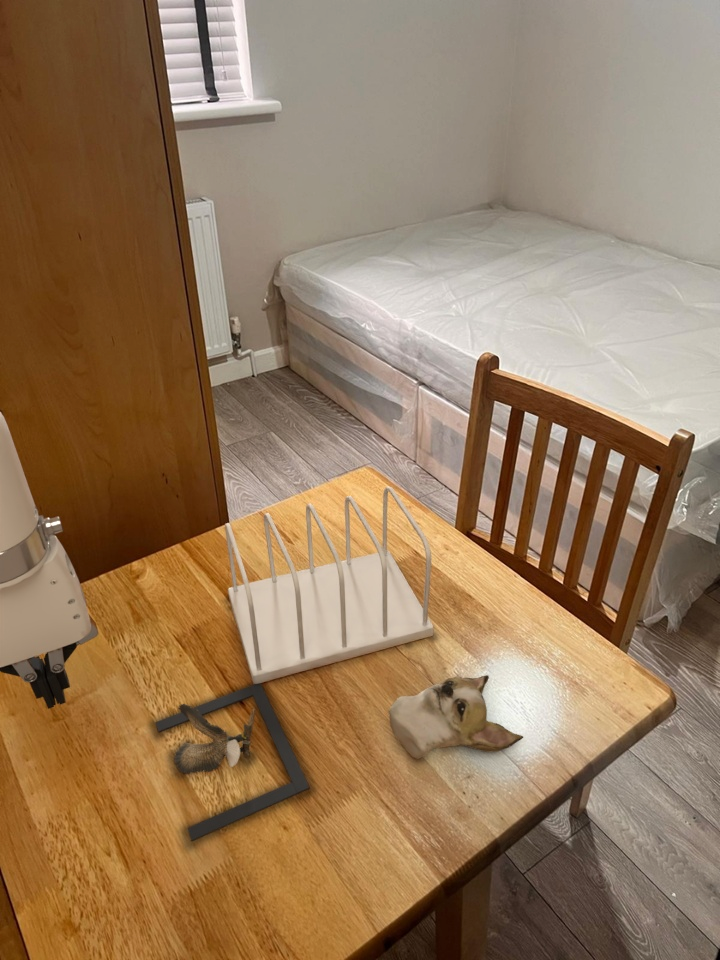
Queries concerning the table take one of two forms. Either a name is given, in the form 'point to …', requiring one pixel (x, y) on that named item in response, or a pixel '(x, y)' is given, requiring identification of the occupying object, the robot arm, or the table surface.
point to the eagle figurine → (211, 745)
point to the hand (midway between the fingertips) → (55, 694)
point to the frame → (280, 742)
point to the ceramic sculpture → (448, 719)
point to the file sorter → (326, 603)
